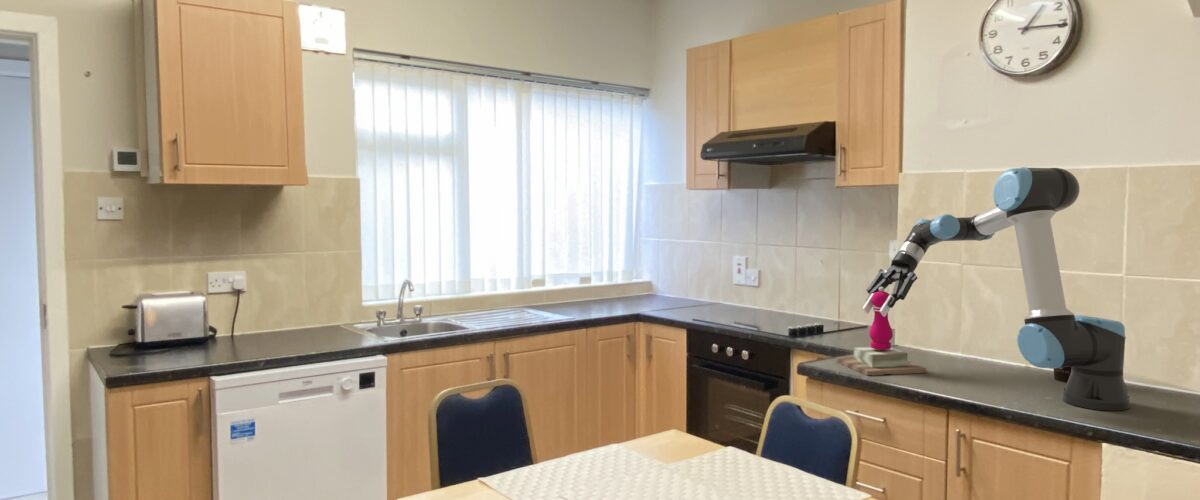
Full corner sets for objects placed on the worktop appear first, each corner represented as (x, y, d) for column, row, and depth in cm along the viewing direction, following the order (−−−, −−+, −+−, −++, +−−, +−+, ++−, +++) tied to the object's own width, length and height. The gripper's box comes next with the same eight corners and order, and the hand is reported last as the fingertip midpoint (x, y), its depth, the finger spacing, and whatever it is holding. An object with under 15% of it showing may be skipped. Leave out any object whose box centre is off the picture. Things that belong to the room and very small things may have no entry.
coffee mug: (1090, 383, 224) (1091, 350, 223) (1060, 383, 224) (1061, 350, 224) (1066, 374, 236) (1068, 342, 235) (1038, 374, 236) (1039, 342, 235)
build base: (925, 372, 239) (926, 355, 238) (866, 375, 236) (867, 358, 235) (891, 359, 259) (891, 343, 258) (836, 361, 255) (836, 345, 255)
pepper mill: (864, 345, 250) (865, 285, 248) (885, 345, 251) (886, 285, 249) (875, 350, 243) (876, 288, 241) (896, 349, 243) (897, 287, 242)
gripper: (937, 268, 245) (904, 324, 237) (888, 264, 261) (855, 316, 253) (927, 253, 241) (893, 308, 234) (878, 249, 258) (844, 301, 250)
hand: (873, 312), depth 244 cm, fingers closed on pepper mill, 6 cm apart
